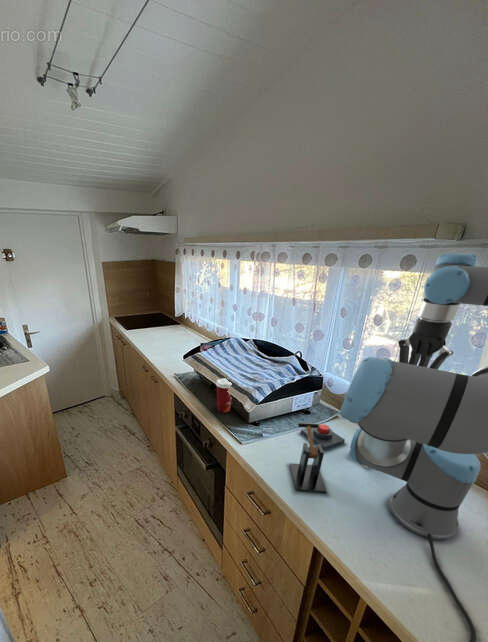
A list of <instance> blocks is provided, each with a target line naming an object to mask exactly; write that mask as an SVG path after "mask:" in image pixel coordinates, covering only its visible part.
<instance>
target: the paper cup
mask: <svg viewBox="0 0 488 642" xmlns="http://www.w3.org/2000/svg"><path fill="white" fill-rule="evenodd" d="M227 379H228V378H227ZM227 379H226V377H221V378H218V379H217V381H216V382H215V386H216V407H217V411H218V412H220V413H225V414H226V413H228V412H230V410H231V404H232V397H233V396H232V397H231V396H230V394H229V393H228V392H227V391H228V389H229V388H230V386H231V385H232V383H231V382H229V381H228V380H227Z"/></svg>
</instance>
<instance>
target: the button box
mask: <svg viewBox="0 0 488 642" xmlns="http://www.w3.org/2000/svg"><path fill="white" fill-rule="evenodd" d="M317 424H318V425H321V424H322V423H317ZM318 429H319V426H318V428H311V432H312V438H313V444H314V445H316V446H317V444H321V447H322V449H323V451H326V450H330V449H331V448H334V447H337V446H340V445H343V444H345V442H346V439H345V438H343V437H341V436H340V435H338V434H337V433H335V432H334V431H333V429H331V428H330V427H329V432H328V434H323V433H320V432H318ZM300 435H302V436H304V438H306V439H308V434H307V428H305V427H304V428H302V429H301V430H300Z"/></svg>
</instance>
